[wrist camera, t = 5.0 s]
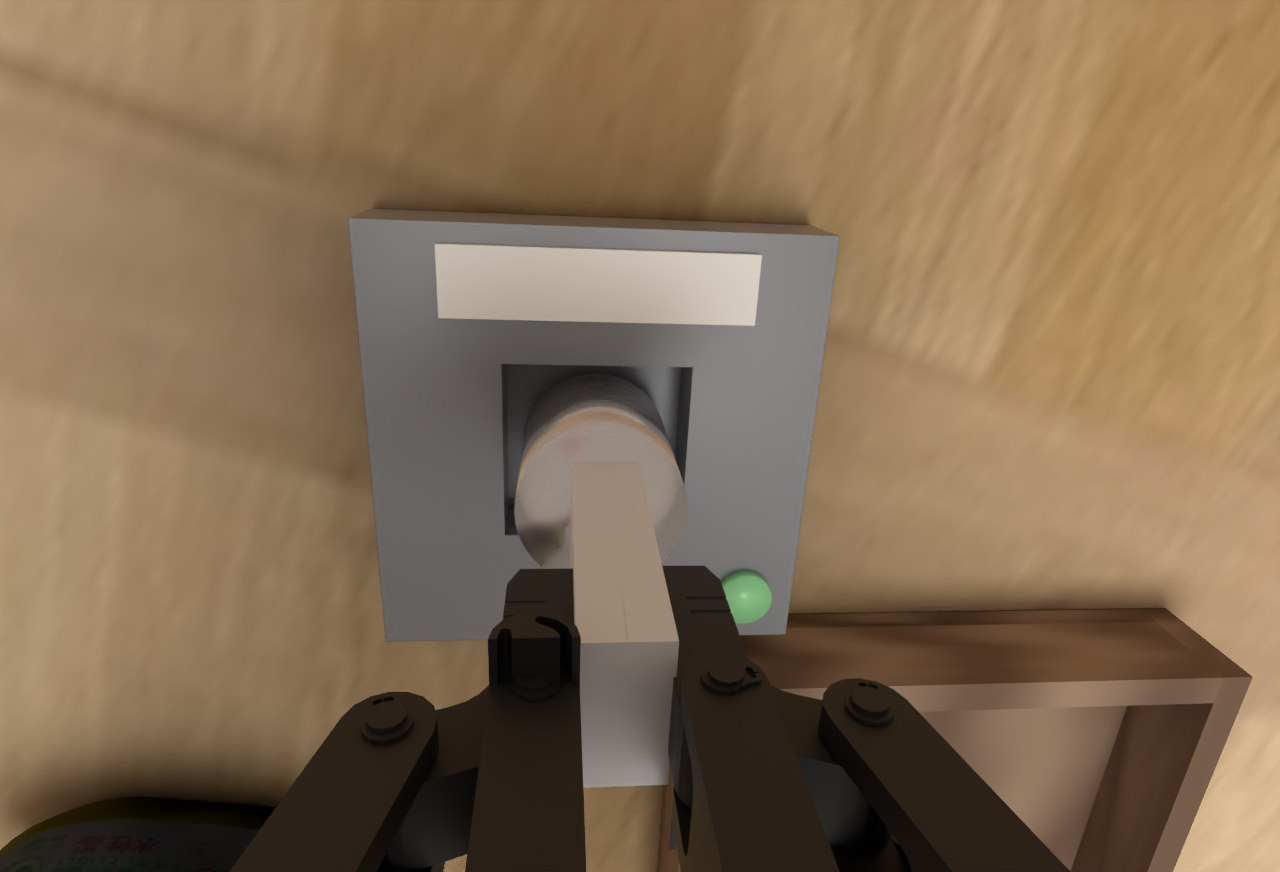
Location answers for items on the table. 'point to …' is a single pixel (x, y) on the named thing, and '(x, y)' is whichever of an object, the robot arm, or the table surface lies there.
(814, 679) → the tray
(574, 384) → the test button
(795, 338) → the grey flat square piece
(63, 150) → the table surface
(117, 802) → the bottle
